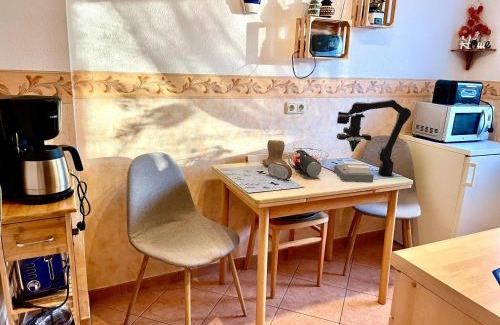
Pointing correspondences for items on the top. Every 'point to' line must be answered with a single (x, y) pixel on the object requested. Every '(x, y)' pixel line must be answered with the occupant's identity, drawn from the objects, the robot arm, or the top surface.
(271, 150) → the brown flared block
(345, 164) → the toggle
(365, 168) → the toggle
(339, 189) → the top surface
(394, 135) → the robot arm
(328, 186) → the top surface
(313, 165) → the dark grey cylinder
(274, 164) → the brown grey oval slab
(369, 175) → the switch box
